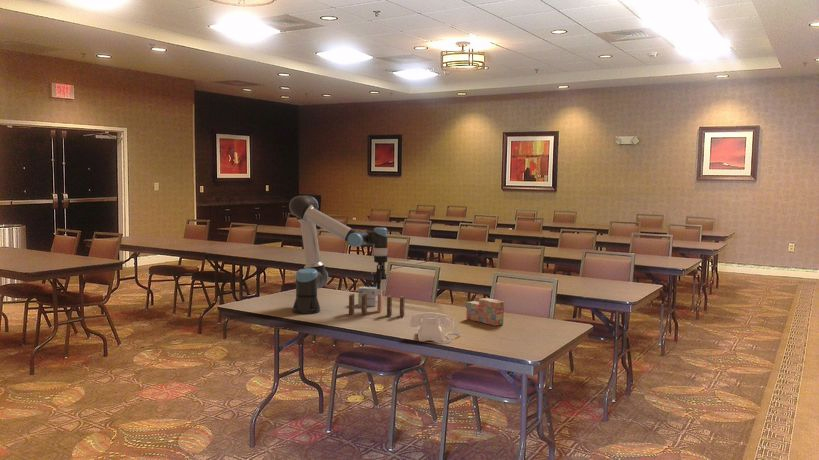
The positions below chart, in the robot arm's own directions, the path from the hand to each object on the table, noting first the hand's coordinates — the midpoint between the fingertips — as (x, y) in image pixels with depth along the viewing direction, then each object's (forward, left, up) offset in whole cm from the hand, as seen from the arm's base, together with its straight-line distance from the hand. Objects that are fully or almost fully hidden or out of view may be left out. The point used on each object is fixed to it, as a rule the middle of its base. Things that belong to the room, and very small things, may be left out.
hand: (380, 292), depth 361 cm
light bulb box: (-10, +17, -11) cm, 23 cm away
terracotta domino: (0, 0, -11) cm, 11 cm away
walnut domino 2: (-7, -11, -11) cm, 17 cm away
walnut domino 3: (+7, -11, -11) cm, 17 cm away
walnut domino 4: (+14, -11, -11) cm, 20 cm away
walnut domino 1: (-14, -11, -11) cm, 21 cm away
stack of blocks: (+58, -15, -11) cm, 61 cm away
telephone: (+36, -57, -11) cm, 68 cm away
